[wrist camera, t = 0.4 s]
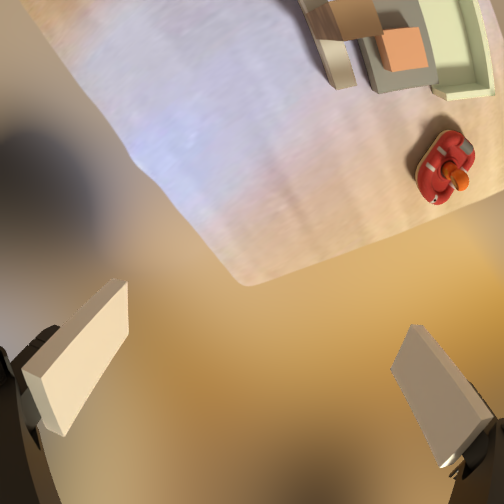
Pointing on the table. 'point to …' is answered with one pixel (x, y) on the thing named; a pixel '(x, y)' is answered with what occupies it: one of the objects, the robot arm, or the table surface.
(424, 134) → the table surface
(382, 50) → the tile
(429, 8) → the tray
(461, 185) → the toy boat
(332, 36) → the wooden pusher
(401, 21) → the slate board
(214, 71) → the table surface
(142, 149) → the table surface
